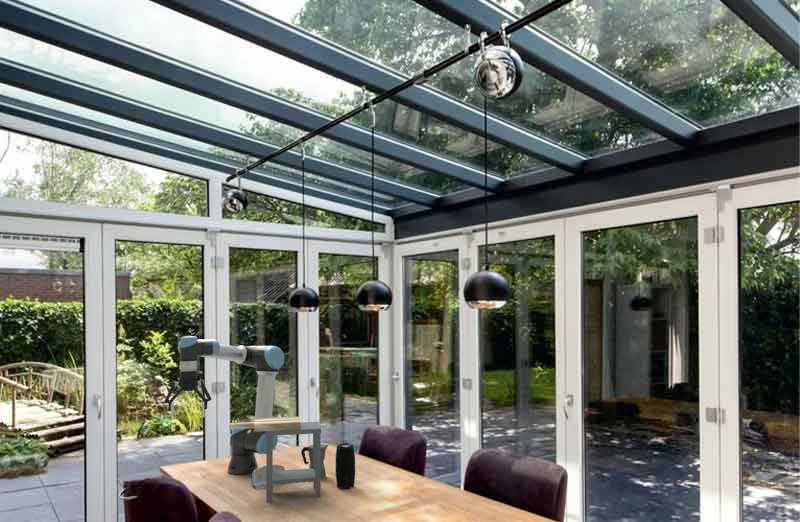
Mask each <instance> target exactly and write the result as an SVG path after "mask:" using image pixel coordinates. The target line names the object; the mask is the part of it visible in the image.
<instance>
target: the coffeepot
mask: <svg viewBox="0 0 800 522" xmlns="http://www.w3.org/2000/svg"><path fill="white" fill-rule="evenodd" d="M328 447H329V445H328V444H321V443H320V451H321V480H323V479H326V478H327V473H326V466H325V464H324V461H325V458H326V457H325V456H326V452H327V451H326V450H327V449H328ZM305 452H308V459H309V461H307V457H306V453H305ZM300 454H301V457H302V461H303V463H304V464H305V465H309V466H308V469H311V468H313V444H311V445H307V446H304V447H302V449H301V451H300Z"/></svg>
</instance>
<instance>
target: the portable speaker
mask: <svg viewBox="0 0 800 522" xmlns="http://www.w3.org/2000/svg"><path fill="white" fill-rule="evenodd" d="M355 478H356V454H355V447H354V444H353V443H352V444H351V443H347V442H342V443H339V444H338V445H336V452H335V480H336V489H337V488H340V489H341V490H342V491H347V490H350V489H351V488H354V487H355Z"/></svg>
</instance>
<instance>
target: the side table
mask: <svg viewBox="0 0 800 522" xmlns="http://www.w3.org/2000/svg"><path fill="white" fill-rule="evenodd" d="M321 434H322V426H321V424H320V421H307V422H306V421H305V422H300V429H297V430H277V431H266V454H265V455H266V457H265V458H266V460H265V461H266V464H265V466H266V487H265V489H266V490H265V492H266V498H265V499H266V501H265V502H266V503H271V502H273V489H274V488H273V487H274V486H273V484H281V485H286V483H287V484H299V483H311V482H312V484H313V486H312V488H313V490H314V498H315V499H321V498H322V496H321V495H322V487H321V485H322V484H321V483H322V482H321V481H322V479H321V451H320V444H321ZM293 435H294V436H296V435H312V445H313V468H311V469H309V468H300V469H299V468H298V469H296V468H295V469H285V470H279V471H273V465H274V464H273V463H274V461H273V458H274V455H273V454H274V453H273V451H274V449H273V436H278V437H279V436H293Z"/></svg>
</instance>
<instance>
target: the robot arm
mask: <svg viewBox="0 0 800 522" xmlns="http://www.w3.org/2000/svg"><path fill="white" fill-rule="evenodd" d="M177 351H178V353H179V381H173V382H171V388H170V389H169V391H168V393H167V395H166V397H165V399H164V401H163V402H164V403H165V404H168V408H167V409H168V412H170V419H171V420H173V419H174V412H175V411H174V410H175V408H174V407H175V406H174V405H175V403H174V401H175V400H176V398H178V397H179V395H180V394H181V392H182V391H183V392H192V391H193V392H195V393H196V394H197V396H198V397H200V399H201V400H202V401H203V402H202V405H201V409H202V410H201V411H202V412H201V413H202V414H201V417H202V418H205V417H206V415H205V413H206V410H208V402H211V401H212V397H211V395H210V393H209V391H208V389H207V386H206V384H205V380H203V379H202V380H198V370H197V369H198V357H203V358H209V359H215V360H223V361H229V362H235V363H236V364H237V365H244V366H247V367H252V368H255V372H256V373H257V375H258V378H257V388H256V389H257V390H256V401H255V409H254V410H255V412H254V413H255V414H254V421H253V422H255V419H258V418H273V409H274V398H275V397H274V396H275V385H276V384H275V383H276V376H277V375H278V374H279V372H280V371H279V370H280V369H281V368H282V367H283V365H284V363H285V355H284V351H283V350H282V349H281V348H280V347H279V346H275V345H238V346H233V345H228V344H221V343H220V342H219V341H218V340H217V339H213V338H212V339H198V337H197V336H196V335H194V336H193V335H190V336H188V335H187V336H186V335H185V336H182V337H180V341H179V342H178V344H177ZM198 385H199V386H201V388H202V391H203V392H204V394H205V395H204V394H203V393H202V392H201V391H200V390H199V388H198V387H197V386H198ZM177 386H179V389H178V390H177V392H175V394H174V395H173V396H172V394H173V392H174V390H175V389H176V387H177ZM171 396H172V398H171ZM230 436H231V441H230V442H231V457H230V460H229V464H228V466H227V473H229V474H232V475H247V474H252V473H253V471H254V470H256V469H258V468H259V465H258V461H257V458H256V456H255V453H257V454H260V455H266V431H258V432H254V428H245V429H231V435H230ZM278 437H279V435H278V436H273V450H275V449H276V447H277V445H278V443H279V438H278Z"/></svg>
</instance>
